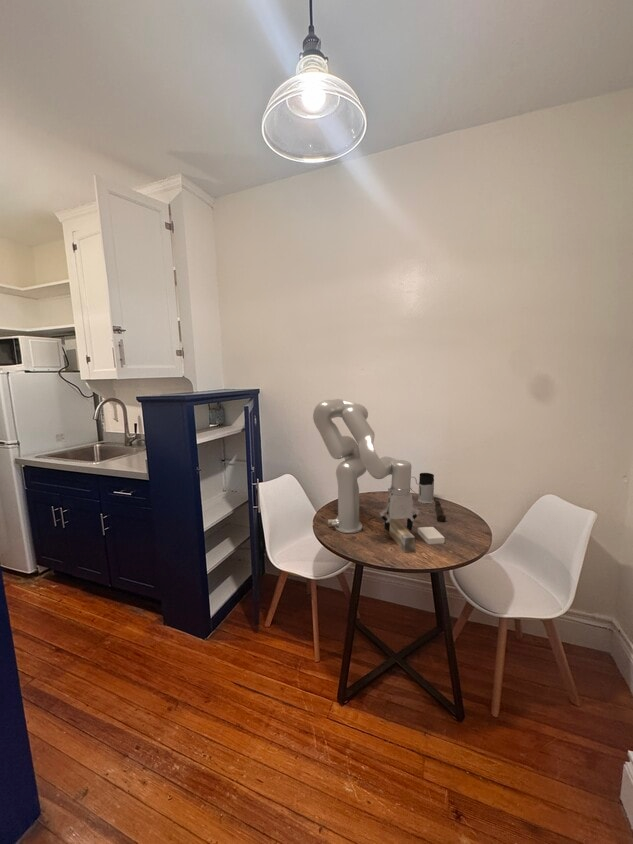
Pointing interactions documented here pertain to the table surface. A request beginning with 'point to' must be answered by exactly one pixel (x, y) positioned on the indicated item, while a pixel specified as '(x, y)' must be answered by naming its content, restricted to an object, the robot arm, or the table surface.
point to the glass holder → (425, 488)
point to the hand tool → (439, 512)
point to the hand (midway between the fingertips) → (398, 529)
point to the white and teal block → (431, 535)
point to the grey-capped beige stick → (402, 536)
